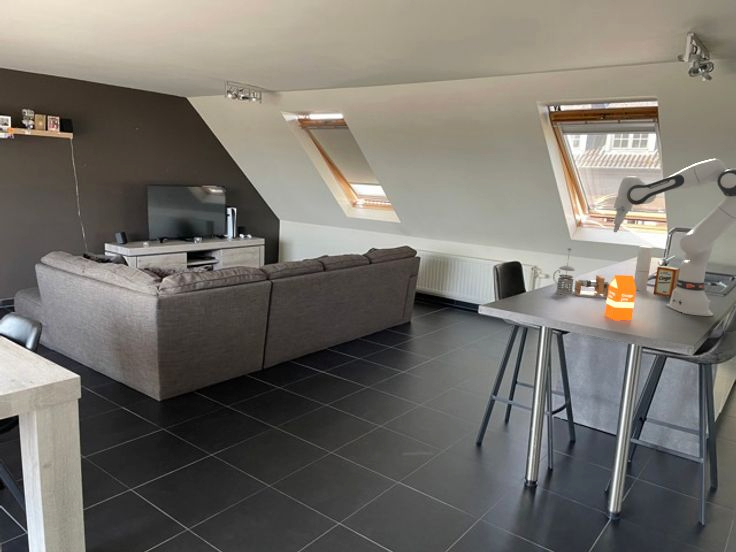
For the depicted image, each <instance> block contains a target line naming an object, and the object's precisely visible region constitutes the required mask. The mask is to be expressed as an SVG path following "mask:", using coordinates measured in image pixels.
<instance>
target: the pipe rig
mask: <svg viewBox="0 0 736 552" xmlns="http://www.w3.org/2000/svg"><path fill="white" fill-rule="evenodd" d="M599 282H600V281H596V280H590V279H585V280H584V279H576V280H575V283H574V289H572V293H573V292H574V293H575V294H576V295H578V296H577V297H586V296H590V298H599V297H603V298H602V299H607V296H608V289H609V285H610V283H609V282H608V281H604V288H603V294H598V293H597V292H596V291H591V290H582V287H584V288H594V289H595V288H599ZM574 293H573V294H574ZM575 294H574V295H575ZM576 295H575V296H576Z"/></svg>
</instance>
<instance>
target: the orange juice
mask: <svg viewBox="0 0 736 552" xmlns="http://www.w3.org/2000/svg"><path fill="white" fill-rule="evenodd" d="M634 278H635V276H634V275H622V274H621V275H620V274H615V275H614V277H613V278H612V280H611V282H610V283H609V284H610V285H609V289H608V296H607V298H606V301H605V304H606V305H605V311H604V317H606V316H607V318H608V317H609V318H608V319H610V318H611V319H610V320H612V319H613V320H612V321H620V320H632V319H633V314H634V306H635V300H636V299H635V298H636V293H637V289H636V287H635V282H634Z"/></svg>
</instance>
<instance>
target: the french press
mask: <svg viewBox="0 0 736 552" xmlns="http://www.w3.org/2000/svg"><path fill="white" fill-rule="evenodd" d="M567 251H568V252H570V251H572V248H570V247H568V248H567ZM569 259H570V255H568V258H567V260H569ZM561 270H562V271H566V274H560V273H561ZM574 271H576V269H575V268H574V267H573V266H570V265H569V263H567V264H566V265H562V266H560V267H559V269H557V270H556V271H554V273H553V274H552V275H553V276H552V279H553V281H554V282H556V290H555V291H554V294H556V293H558V294H557V295H560V294H562V295H561V296H567V295H570V296H574V295H573V294H574V293H573V292H572V290H573V286H574V279H573V278H574V276H573V275H568V272H574ZM557 272H558V273H559V278H557V280H556V279H555V276H556V274H557Z"/></svg>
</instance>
